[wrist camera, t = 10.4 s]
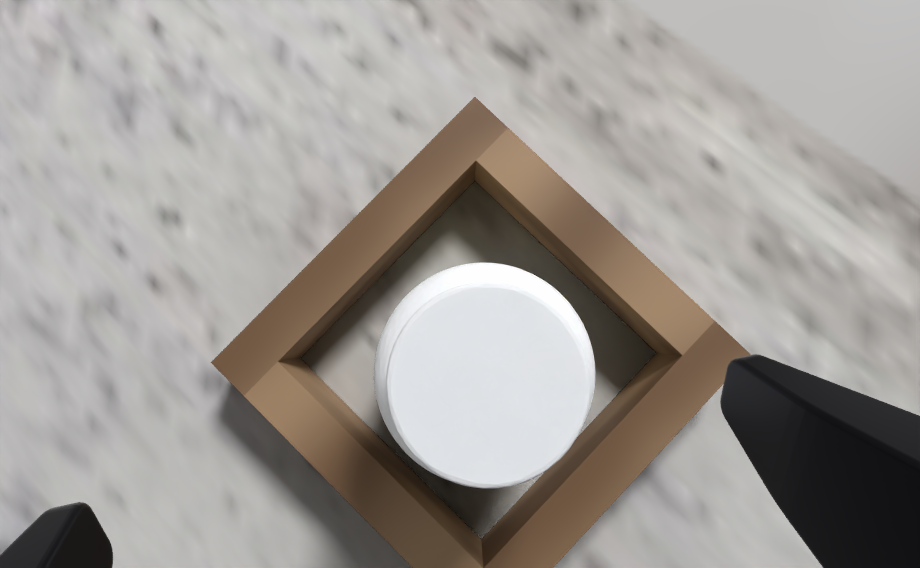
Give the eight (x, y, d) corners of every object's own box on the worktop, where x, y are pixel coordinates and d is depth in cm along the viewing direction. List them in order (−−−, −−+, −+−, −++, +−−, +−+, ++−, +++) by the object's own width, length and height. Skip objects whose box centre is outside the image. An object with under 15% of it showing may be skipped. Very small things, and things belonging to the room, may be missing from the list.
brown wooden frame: (716, 351, 21) (750, 354, 18) (482, 603, 20) (484, 641, 18) (473, 124, 22) (474, 96, 19) (241, 359, 21) (210, 362, 19)
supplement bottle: (371, 376, 21) (290, 410, 11) (462, 254, 21) (458, 185, 12) (495, 468, 21) (520, 587, 11) (584, 343, 21) (686, 349, 11)
